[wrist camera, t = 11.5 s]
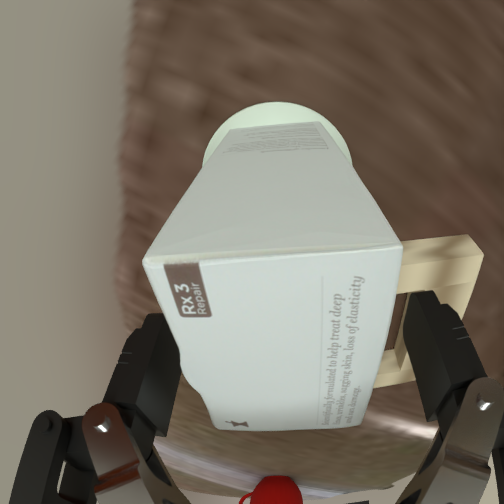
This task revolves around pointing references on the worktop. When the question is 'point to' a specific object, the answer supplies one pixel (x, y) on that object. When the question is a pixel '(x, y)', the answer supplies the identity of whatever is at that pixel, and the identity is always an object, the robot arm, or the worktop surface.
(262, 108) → the pale green disc
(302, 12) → the worktop surface
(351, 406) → the skincare box
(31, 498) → the robot arm
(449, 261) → the pocket board
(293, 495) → the ceramic cup
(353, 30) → the worktop surface
